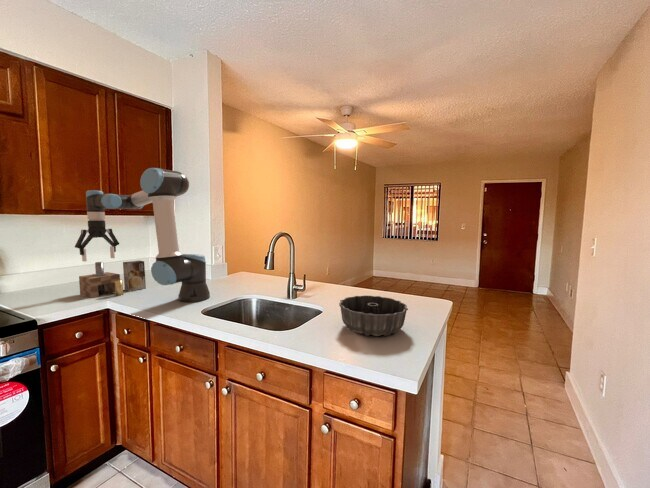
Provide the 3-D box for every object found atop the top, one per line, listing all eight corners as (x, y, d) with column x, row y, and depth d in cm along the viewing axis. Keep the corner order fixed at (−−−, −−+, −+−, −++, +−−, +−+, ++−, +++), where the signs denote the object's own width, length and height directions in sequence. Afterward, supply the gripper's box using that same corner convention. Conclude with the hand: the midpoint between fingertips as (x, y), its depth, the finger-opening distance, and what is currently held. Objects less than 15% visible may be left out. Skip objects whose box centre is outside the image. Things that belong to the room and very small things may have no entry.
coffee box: (141, 286, 185) (140, 260, 183) (146, 288, 181) (144, 261, 179) (124, 289, 177) (122, 261, 176) (128, 291, 174) (127, 263, 172)
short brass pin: (124, 294, 167) (123, 280, 166) (117, 296, 163) (116, 281, 163) (120, 293, 168) (120, 279, 167) (113, 295, 165) (112, 280, 164)
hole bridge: (120, 292, 172) (119, 274, 171) (92, 297, 160) (90, 278, 159) (108, 289, 178) (107, 272, 177) (80, 294, 165) (78, 276, 164)
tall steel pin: (106, 293, 170) (104, 262, 168) (99, 294, 166) (97, 263, 165) (102, 292, 171) (101, 261, 170) (95, 293, 168) (93, 262, 167)
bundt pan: (396, 317, 136) (397, 294, 135) (416, 342, 110) (417, 314, 109) (336, 317, 135) (336, 294, 134) (341, 342, 109) (342, 314, 108)
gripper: (117, 219, 178) (119, 256, 180) (64, 220, 156) (67, 262, 158) (124, 219, 174) (127, 257, 176) (72, 220, 152) (75, 263, 154)
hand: (99, 259), depth 167 cm, fingers open, 13 cm apart
